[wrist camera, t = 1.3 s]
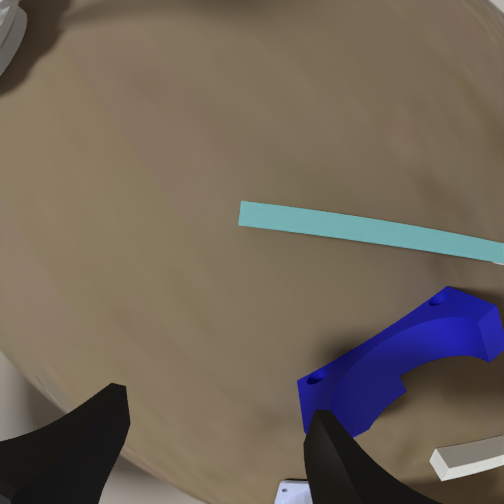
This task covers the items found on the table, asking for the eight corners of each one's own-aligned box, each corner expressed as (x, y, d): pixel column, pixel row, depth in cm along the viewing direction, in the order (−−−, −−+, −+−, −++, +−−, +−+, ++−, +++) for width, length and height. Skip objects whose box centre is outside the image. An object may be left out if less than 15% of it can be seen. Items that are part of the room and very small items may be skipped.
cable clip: (326, 423, 20) (339, 477, 14) (296, 379, 20) (304, 431, 14) (464, 335, 19) (510, 365, 13) (445, 285, 19) (496, 305, 13)
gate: (243, 224, 19) (238, 225, 16) (246, 204, 19) (241, 201, 16) (485, 259, 18) (511, 264, 15) (487, 242, 18) (513, 245, 15)
